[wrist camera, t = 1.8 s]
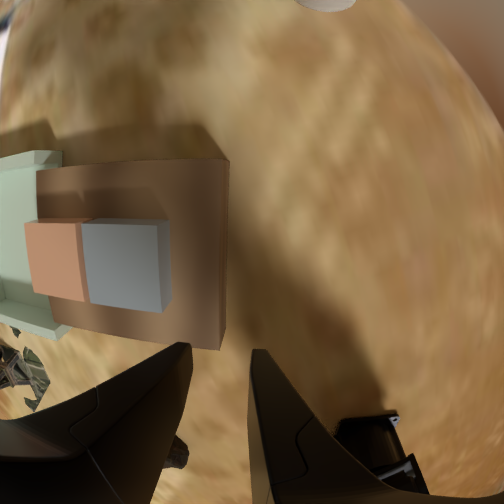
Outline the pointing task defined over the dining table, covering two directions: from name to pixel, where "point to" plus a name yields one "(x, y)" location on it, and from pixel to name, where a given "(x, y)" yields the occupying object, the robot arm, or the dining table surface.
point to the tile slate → (128, 263)
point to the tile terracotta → (57, 257)
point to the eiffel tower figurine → (23, 371)
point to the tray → (23, 245)
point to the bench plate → (181, 241)
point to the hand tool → (177, 454)
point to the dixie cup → (327, 4)
